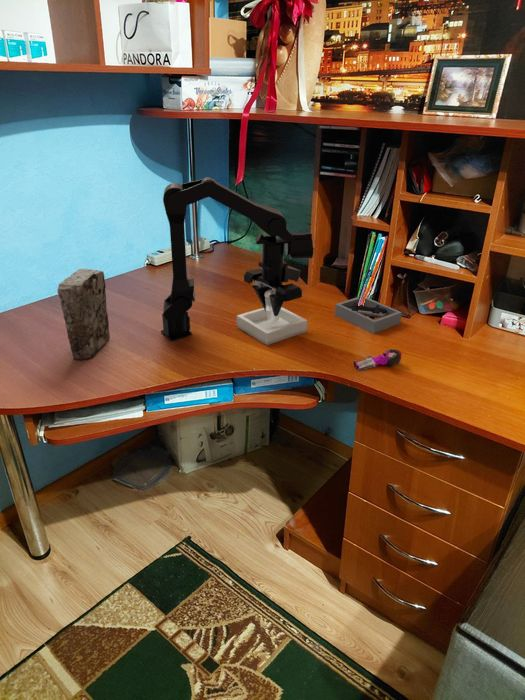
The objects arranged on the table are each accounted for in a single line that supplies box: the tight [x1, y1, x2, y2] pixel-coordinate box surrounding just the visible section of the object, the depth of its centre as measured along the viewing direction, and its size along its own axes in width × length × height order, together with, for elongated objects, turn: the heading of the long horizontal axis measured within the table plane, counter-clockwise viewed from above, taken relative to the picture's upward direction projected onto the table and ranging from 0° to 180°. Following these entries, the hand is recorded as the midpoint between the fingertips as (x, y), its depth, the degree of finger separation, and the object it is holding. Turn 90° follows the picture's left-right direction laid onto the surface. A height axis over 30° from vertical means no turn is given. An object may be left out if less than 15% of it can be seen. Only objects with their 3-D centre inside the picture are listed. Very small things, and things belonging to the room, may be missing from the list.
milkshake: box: [264, 289, 279, 324], centre depth 146 cm, size 4×5×10 cm
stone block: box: [57, 268, 111, 361], centre depth 133 cm, size 13×7×20 cm, turn 175°
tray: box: [236, 307, 308, 346], centre depth 149 cm, size 14×14×4 cm
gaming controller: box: [349, 302, 387, 320], centre depth 155 cm, size 11×4×7 cm
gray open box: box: [334, 297, 403, 334], centre depth 155 cm, size 11×15×4 cm
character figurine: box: [353, 348, 403, 371], centre depth 131 cm, size 6×5×12 cm
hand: (271, 313), depth 147 cm, fingers closed on milkshake, 4 cm apart
